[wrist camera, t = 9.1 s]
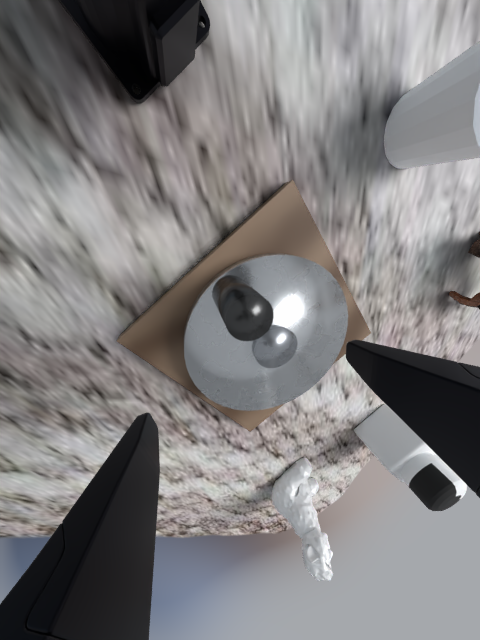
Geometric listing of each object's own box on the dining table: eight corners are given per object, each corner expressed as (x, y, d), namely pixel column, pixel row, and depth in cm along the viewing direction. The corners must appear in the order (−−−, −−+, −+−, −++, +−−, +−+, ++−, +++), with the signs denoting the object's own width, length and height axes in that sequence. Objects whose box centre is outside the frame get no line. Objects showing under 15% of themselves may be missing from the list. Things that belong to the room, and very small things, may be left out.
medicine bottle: (367, 443, 39) (437, 522, 29) (352, 429, 36) (423, 513, 26) (397, 418, 39) (479, 490, 28) (384, 402, 35) (471, 477, 25)
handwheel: (250, 422, 26) (271, 481, 20) (142, 338, 18) (123, 394, 12) (358, 337, 25) (415, 372, 19) (293, 209, 17) (356, 200, 11)
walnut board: (120, 334, 19) (116, 341, 18) (286, 182, 18) (292, 179, 17) (247, 424, 29) (250, 431, 28) (363, 328, 27) (370, 332, 26)
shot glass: (389, 193, 21) (478, 178, 15) (367, 116, 17) (471, 55, 11) (446, 144, 20) (563, 108, 14) (435, 56, 17) (581, -40, 11)
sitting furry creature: (315, 479, 40) (364, 571, 29) (275, 501, 39) (311, 603, 29) (306, 453, 35) (360, 550, 25) (260, 478, 35) (296, 587, 24)
